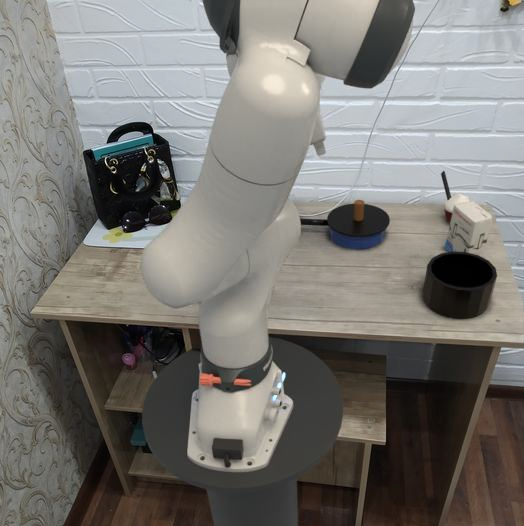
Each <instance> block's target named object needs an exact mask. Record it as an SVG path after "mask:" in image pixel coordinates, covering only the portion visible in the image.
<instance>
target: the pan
mask: <svg viewBox="0 0 524 526" xmlns="http://www.w3.org/2000/svg"><path fill="white" fill-rule="evenodd" d="M328 231H329V233H328V234H329V238H330V240H331V241H332V242H333V243H334V244H335V245H337V246H339V247H341V248H344V249H348V250H357V251H359V250H368V249H372V248H374V247H376V246H378V245H380V244H381V243H382V242H383V241H384V239H385V237H386V229H385V230H384V231H383V232H381V233H379V234H376V235H372V236H367V237H351V236H346V235H342V234H340V233H337V232H335V231H334V230H332V229H331V228H330V227H329V230H328Z"/></svg>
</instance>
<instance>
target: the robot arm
mask: <svg viewBox="0 0 524 526" xmlns="http://www.w3.org/2000/svg"><path fill="white" fill-rule="evenodd" d="M202 4H203V9H204V12H205V15H206V17H207V20H208V22H209V23H208V24H209V26H210V27H211V29H212V30H213V31H214V32H215V34H216V35H217V36H218V38H219V45H218V46H219V49H220V51H221V52H223V54H225V59H226V68H227V72H228V75H229V80H228V82H227V84H226V86H225V89H224V91H223V93H222V95H221V99H220V101H219V103H218V107H217V109H216V112H215V116H214V118H213V121H212V126H211V129H210V133H209V139H208V143H207V145H206V151H205V154H204V158H203V161H202V165H201V169H200V172H199V175H198V178H197V181H196V183H195V184H194V186H193V188H192V189H191V191H190V193H189V194H188V196H187V197H186V199H185V200H184V201H183V203H182V205H181V206H180V207H179V209H178V211H177V212H176V213H175V215H174V216H173V217H172V219H171V220H170V222H168V224H167V225H166V226H165V228H164V229H163V230H161V232H160V233H159V234H158V235H156V236H155V237H154V238H153V239H152V240H151V241H150V242H149V243H148V244H147V245H145V246H144V248H143V249H142V252H141V258H140V272H141V276H142V280H143V283H144V285H145V286H146V289H147V290H148V291H149V293H150V294H151V295H152V297H154V298H155V299H156V300H157V301H158V302H160V303H161V304H162V305H165V306H168V307H169V308H172V309H181V308H184V307H189V306H191V305H192V306H193V305H196V304H198V303H200V304H199V306H198V311H197V323H198V329H199V335H200V341H201V345H200V349H201V355H200V360H201V363H200V364H199V369H200V376H199V389H198V390H196V391H194V392H193V394H192V403H191V414H190V426H189V437H188V449H187V455H188V458H189V459H190V460H191V461H192V462H193V463H195V464H197V465H199V466H202V467H204V468H208V469H212V470H217V471H224V472H250V471H255V470H259V469H262V468H264V467H266V466H267V465H268V463H269V461H270V459H271V457H272V455H273V452H274V450H275V448H276V446H277V443H278V441H279V439H280V436H281V434H282V432H283V430H284V427H285V425H286V423H287V421H288V418H289V416H290V414H291V412H292V409H293V407H294V405H293V401H292V399H291V398H289V397H288V396H287V395H285V394H284V389H283V380H284V378H285V373H283V375H282V372H281V370H280V369H279V368H278V367H277V366H276V364H275V363H274V362H273V361H272V355H273V354H272V353H273V351H272V345H271V341H270V338H269V337H270V336H269V306H270V302H271V297H272V294H273V291H274V289H275V284H276V282H277V280H278V277H279V274H280V272H281V270H282V268H283V265H284V264H285V262H286V260H287V258H288V257H289V255H290V254H291V252H292V251H293V249H294V248H295V247H296V245H297V244H298V242H299V241H300V238H301V234H302V225H301V221H300V218H301V217H300V213H299V211H298V209H297V207H296V205H295V203H294V202H293V201H292V200H291V199H290V198H289V196H290V194H291V192H292V189H293V187H294V185H295V183H296V180H297V178H298V176H299V174H300V172H301V169H302V167H303V165H304V162H305V160H306V157H307V154H308V152H309V149H310V146H312V145H313V147H314V150H315V152H316V155H317V156H318V157H320V156H323V155H326V153H327V152H326V147H325V144H324V142H325V141H326V139H327V136H326V131H325V124H324V121H323V120H324V119H323V115H322V110H321V105H320V102H321V90H322V84H323V83H324V82H325V79H326V77H327V78H332V79H335V80H340V81H342V82H343V85H344V86H349V87H353V88H358V89H366V90H367V89H373V88H375V87H377V86H378V85H380V84H382V83H383V82H384V81H385V80H386V78H387V77H388V76H389V75H390V74H391V73H392V72H393V71H394V70H395V69H396V67H397V66H398V64H400V62H401V61H402V59H403V57H404V56H405V53H406V52H407V50H408V47H409V44H410V41H411V38H412V33H413V27H414V16H415V12H416V6H415V3H414V0H202ZM284 408H285V409H284ZM201 459H204V460H201ZM248 464H252V465H250V466H249V465H248Z"/></svg>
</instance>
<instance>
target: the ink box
mask: <svg viewBox="0 0 524 526" xmlns="http://www.w3.org/2000/svg"><path fill="white" fill-rule="evenodd" d="M493 220H494V217H493V215H492V214H490V213H489V212H488V211H486V210H485V209H484V208H483V207H482V206H481V205H480V204H478V203H477V202H476V201H475V200H470V201H468V202H463V203H459V204H455V205H454V208H453V213H452V218H451V222H449V226H448V232H447V236H446V241H445V246H444V249H445V250H446V252H452V251H456V252H468V253H472V254H476V255H479V256H481V257H483V258H484V254H485V251H486V250H485V249H486V246H487V243H488V239H489V234H490V231H491V227H492V223H493Z"/></svg>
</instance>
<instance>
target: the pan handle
mask: <svg viewBox="0 0 524 526" xmlns="http://www.w3.org/2000/svg"><path fill="white" fill-rule="evenodd" d="M300 221H301V226H313V227H314V226H315V227H316V226H317V227H329V225H328V223H327V218H326V219H325V218H324V219H321V218H318V219H317V218H302V217H300Z"/></svg>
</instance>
